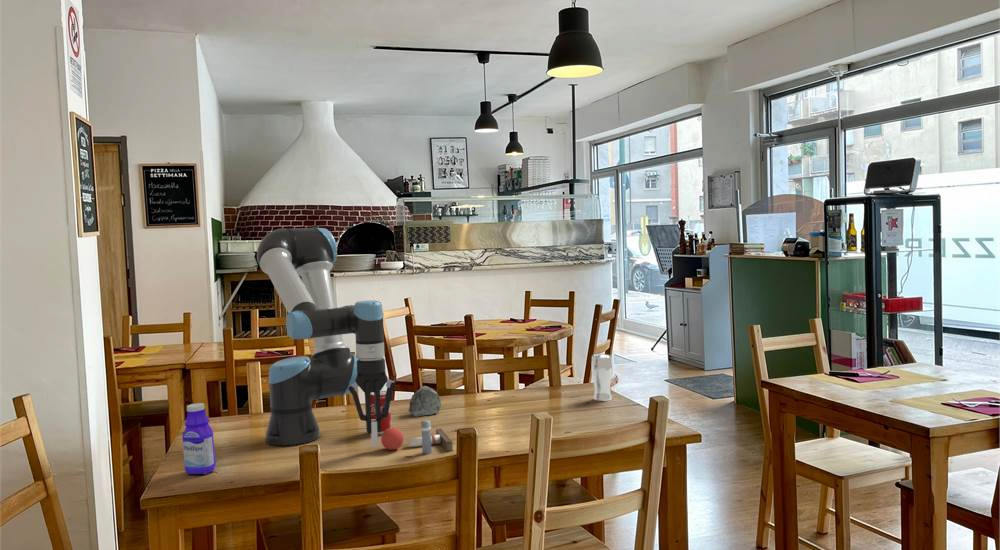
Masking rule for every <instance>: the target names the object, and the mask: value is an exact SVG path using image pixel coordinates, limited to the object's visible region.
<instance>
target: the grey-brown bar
mask: <svg viewBox="0 0 1000 550" xmlns="http://www.w3.org/2000/svg"><path fill="white" fill-rule="evenodd" d="M435 435H440V438H441V443H440V444H441V446H442V447H443V448H444V450H446V452H451V451H452V452H453V441H452V439H451V438H450V437H449V435H447V433H446V432H445V431H444V430H443V429H442V428H435Z"/></svg>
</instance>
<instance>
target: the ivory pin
mask: <svg viewBox="0 0 1000 550" xmlns="http://www.w3.org/2000/svg"><path fill="white" fill-rule="evenodd" d="M439 444H441V438H440V435H436V434H431V446H432V445H439ZM408 447H409V448H416V447H422V436H418V437H410V438H408Z"/></svg>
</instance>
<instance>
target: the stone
mask: <svg viewBox="0 0 1000 550" xmlns="http://www.w3.org/2000/svg"><path fill="white" fill-rule="evenodd" d="M441 407H442V403H441V398H440V396H439V394H438V392H437V391H436V390H435V389H433V388H432V387H429V386H426V385H423V386H422V387H420V388H419V389H418V390H416V392H414V394H412V396H411V399H410V401H409V407H408V409H407V411H408V412H409V414H410V415H411V416H414V417H415V418H417V417H421V416H422V417H423V416H428V415H430V416H431V415H434V414H437V413H439V412H440V409H441Z"/></svg>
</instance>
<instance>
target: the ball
mask: <svg viewBox="0 0 1000 550" xmlns="http://www.w3.org/2000/svg"><path fill="white" fill-rule="evenodd" d="M380 441H381V444H382V446H383V447H384V448H385V449H387V450H389V451H395V450H398V449H399V448H400V447H402V445H403V443H404V434H403V432H402V431H401V429H399V428H398V427H394V426H393V427H392V426H391V428H388V429H386V430H385V431H384V432H383V434H382V435H381V439H380Z"/></svg>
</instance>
